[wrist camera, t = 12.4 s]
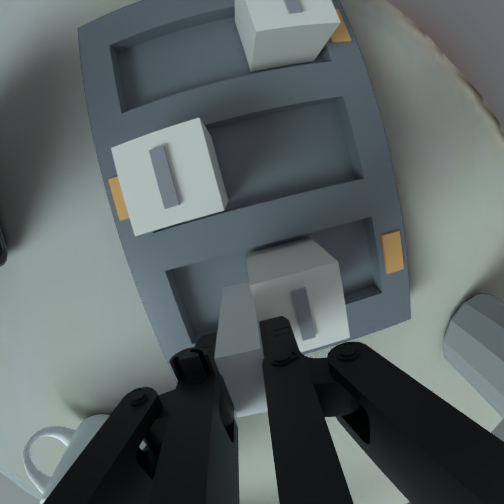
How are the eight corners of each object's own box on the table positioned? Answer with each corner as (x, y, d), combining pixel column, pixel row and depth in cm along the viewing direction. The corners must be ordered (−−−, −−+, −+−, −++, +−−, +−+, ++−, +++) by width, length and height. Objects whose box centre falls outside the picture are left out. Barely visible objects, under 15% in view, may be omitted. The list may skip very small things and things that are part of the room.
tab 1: (147, 155, 16) (109, 147, 11) (211, 135, 16) (198, 116, 11) (164, 218, 17) (133, 237, 12) (228, 200, 17) (224, 211, 12)
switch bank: (92, 40, 15) (76, 27, 13) (315, -15, 15) (323, -34, 12) (182, 362, 21) (176, 383, 18) (395, 305, 21) (412, 320, 18)
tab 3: (246, 253, 18) (249, 287, 12) (309, 237, 18) (339, 262, 12) (262, 312, 19) (271, 362, 13) (321, 295, 19) (351, 339, 13)
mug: (52, 378, 21) (-6, 457, 11) (175, 435, 23) (156, 536, 12) (50, 429, 23) (10, 499, 12) (153, 477, 24) (136, 557, 14)
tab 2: (234, 21, 15) (234, -31, 9) (295, 11, 14) (314, -38, 9) (250, 72, 15) (256, 29, 10) (313, 61, 15) (342, 20, 10)
